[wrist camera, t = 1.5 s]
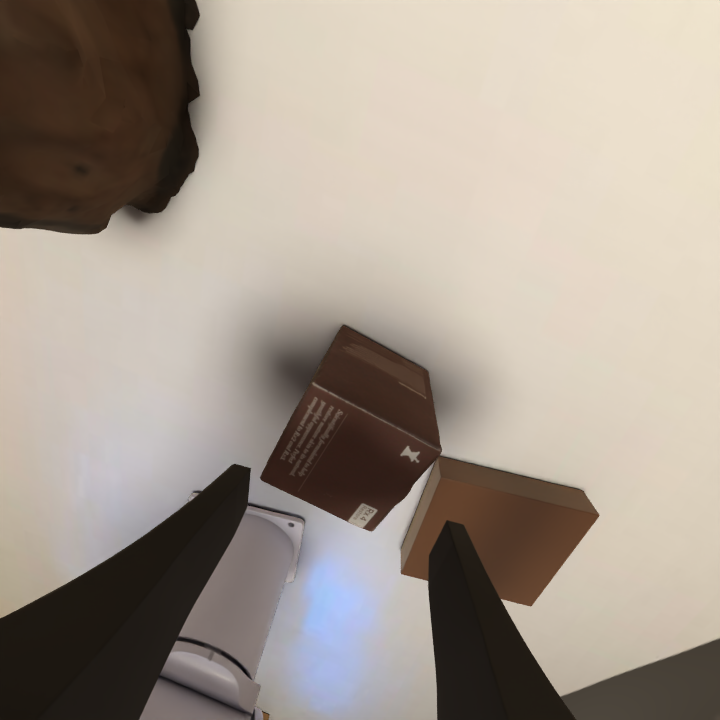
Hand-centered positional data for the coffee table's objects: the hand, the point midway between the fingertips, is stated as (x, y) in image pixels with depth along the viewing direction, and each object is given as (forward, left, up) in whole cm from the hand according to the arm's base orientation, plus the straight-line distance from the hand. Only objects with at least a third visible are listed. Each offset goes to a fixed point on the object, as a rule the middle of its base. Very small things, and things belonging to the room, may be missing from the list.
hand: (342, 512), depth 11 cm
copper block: (+11, -9, -10) cm, 17 cm away
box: (0, 0, -10) cm, 10 cm away
